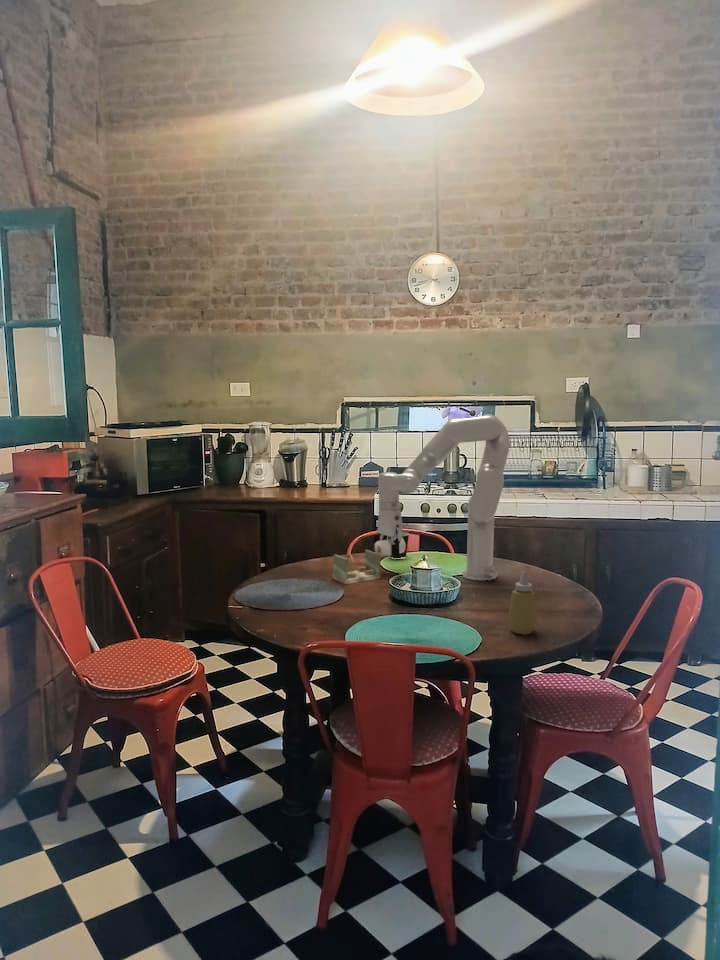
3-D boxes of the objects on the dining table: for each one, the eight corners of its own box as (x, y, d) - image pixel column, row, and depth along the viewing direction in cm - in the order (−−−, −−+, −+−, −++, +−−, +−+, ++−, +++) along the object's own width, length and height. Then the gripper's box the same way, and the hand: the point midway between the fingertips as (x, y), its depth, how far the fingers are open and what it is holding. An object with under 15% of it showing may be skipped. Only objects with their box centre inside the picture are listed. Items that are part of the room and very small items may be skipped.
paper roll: (396, 551, 283) (396, 536, 282) (406, 554, 278) (405, 538, 277) (374, 555, 278) (374, 539, 277) (383, 558, 273) (383, 542, 272)
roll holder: (366, 572, 279) (367, 549, 278) (380, 578, 272) (380, 554, 271) (332, 578, 271) (332, 554, 270) (345, 584, 264) (345, 559, 263)
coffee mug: (412, 557, 303) (412, 533, 302) (402, 561, 296) (402, 537, 294) (387, 553, 309) (388, 529, 308) (377, 557, 302) (377, 533, 301)
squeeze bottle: (532, 626, 221) (534, 568, 218) (539, 636, 213) (542, 575, 210) (505, 626, 221) (507, 568, 218) (511, 636, 213) (513, 575, 210)
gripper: (411, 507, 270) (412, 555, 273) (384, 501, 285) (385, 547, 287) (394, 509, 266) (395, 558, 269) (367, 503, 281) (369, 550, 283)
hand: (390, 552), depth 278 cm, fingers closed on paper roll, 6 cm apart
